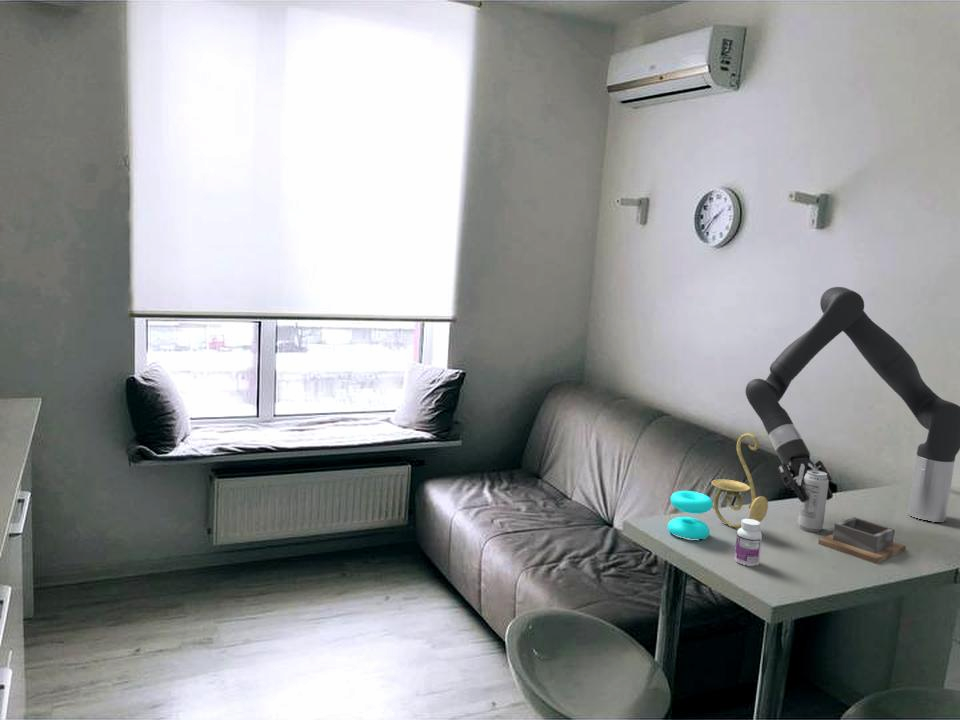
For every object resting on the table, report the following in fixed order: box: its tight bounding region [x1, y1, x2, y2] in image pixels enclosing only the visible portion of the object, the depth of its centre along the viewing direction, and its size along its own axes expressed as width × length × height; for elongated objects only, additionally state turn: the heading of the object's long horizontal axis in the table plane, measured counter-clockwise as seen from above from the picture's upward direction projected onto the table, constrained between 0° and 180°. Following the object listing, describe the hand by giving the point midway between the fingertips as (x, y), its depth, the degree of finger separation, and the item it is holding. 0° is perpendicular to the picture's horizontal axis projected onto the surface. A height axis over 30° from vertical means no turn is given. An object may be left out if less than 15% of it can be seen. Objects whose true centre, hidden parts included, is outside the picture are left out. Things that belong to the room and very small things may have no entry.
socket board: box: [818, 516, 907, 564], centre depth 195 cm, size 16×14×5 cm
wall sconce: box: [711, 432, 769, 529], centre depth 202 cm, size 14×10×25 cm
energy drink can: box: [797, 470, 830, 533], centre depth 206 cm, size 6×6×15 cm
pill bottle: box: [734, 518, 763, 567], centre depth 180 cm, size 5×5×10 cm
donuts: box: [667, 490, 714, 540], centre depth 196 cm, size 10×10×10 cm
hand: (817, 499), depth 204 cm, fingers open, 8 cm apart
